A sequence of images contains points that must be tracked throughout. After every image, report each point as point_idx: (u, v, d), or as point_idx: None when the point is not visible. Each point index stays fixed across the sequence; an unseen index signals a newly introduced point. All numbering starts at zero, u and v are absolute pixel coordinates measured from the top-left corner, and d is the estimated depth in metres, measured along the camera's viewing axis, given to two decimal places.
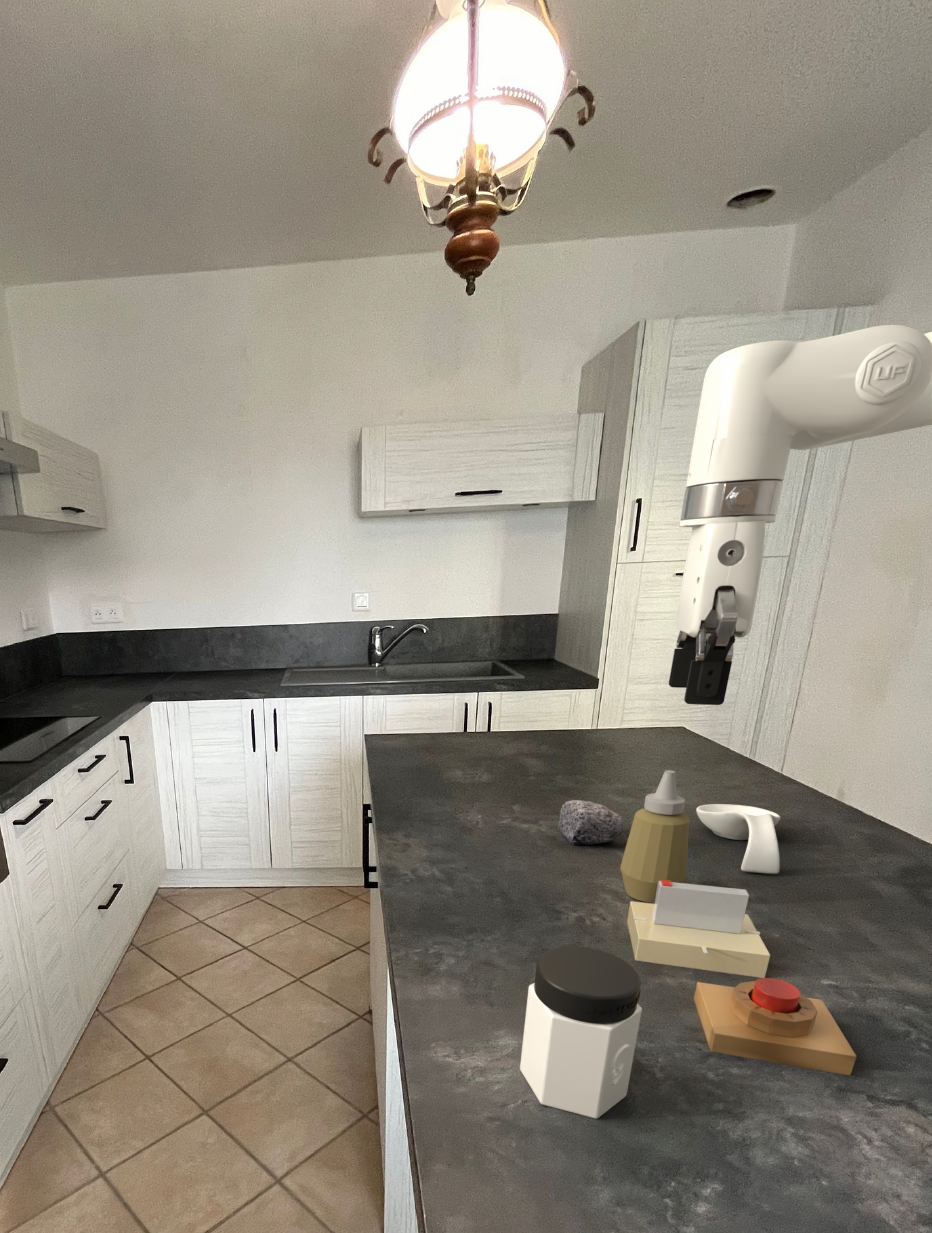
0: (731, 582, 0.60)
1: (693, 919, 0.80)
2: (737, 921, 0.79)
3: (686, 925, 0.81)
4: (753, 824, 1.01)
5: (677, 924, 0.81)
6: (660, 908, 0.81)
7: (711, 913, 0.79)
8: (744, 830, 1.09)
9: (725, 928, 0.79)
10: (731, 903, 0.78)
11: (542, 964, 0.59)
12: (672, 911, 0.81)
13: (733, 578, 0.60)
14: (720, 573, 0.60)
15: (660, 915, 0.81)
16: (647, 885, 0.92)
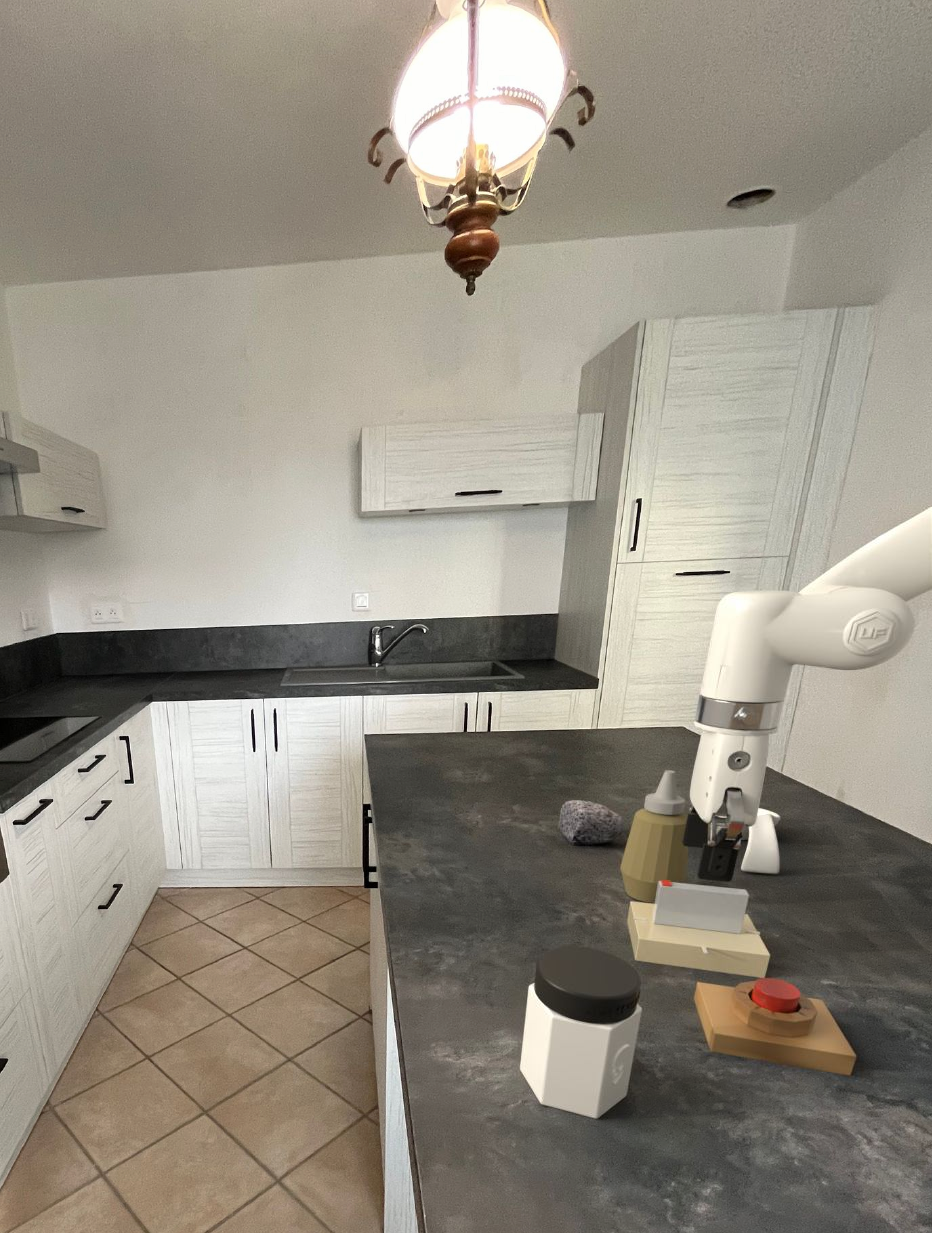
0: (739, 785, 0.70)
1: (693, 919, 0.80)
2: (737, 921, 0.79)
3: (686, 925, 0.81)
4: None
5: (677, 924, 0.81)
6: (660, 908, 0.81)
7: (711, 913, 0.79)
8: (744, 830, 1.09)
9: (725, 928, 0.79)
10: (731, 903, 0.78)
11: (542, 964, 0.59)
12: (672, 911, 0.81)
13: (741, 782, 0.70)
14: (729, 776, 0.70)
15: (660, 915, 0.81)
16: (647, 885, 0.92)
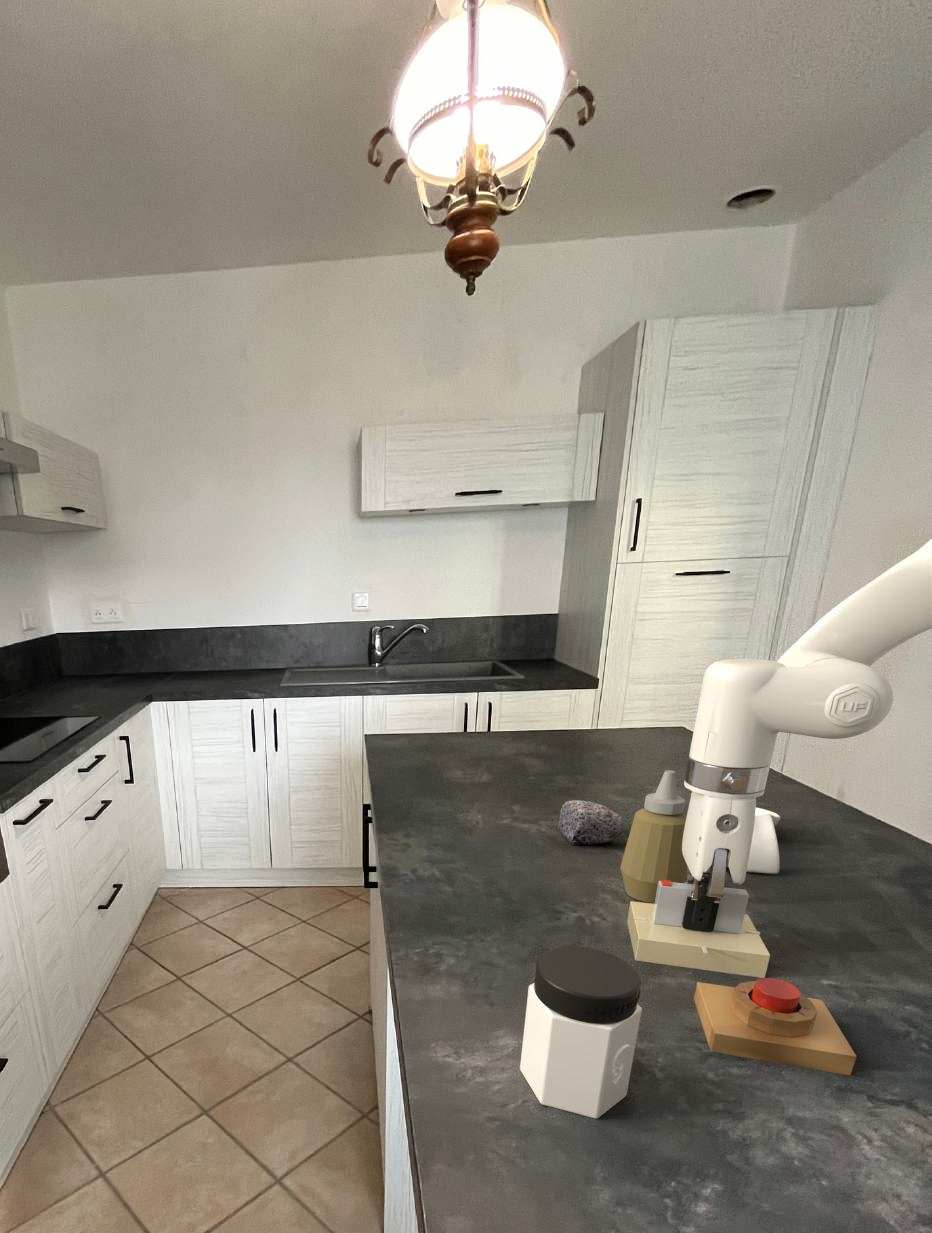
0: (728, 846, 0.72)
1: None
2: (737, 921, 0.79)
3: None
4: None
5: (677, 924, 0.81)
6: (660, 908, 0.81)
7: None
8: None
9: (725, 928, 0.79)
10: (731, 903, 0.78)
11: (542, 964, 0.59)
12: (672, 911, 0.81)
13: (729, 843, 0.72)
14: (718, 838, 0.72)
15: (660, 915, 0.81)
16: (647, 885, 0.92)
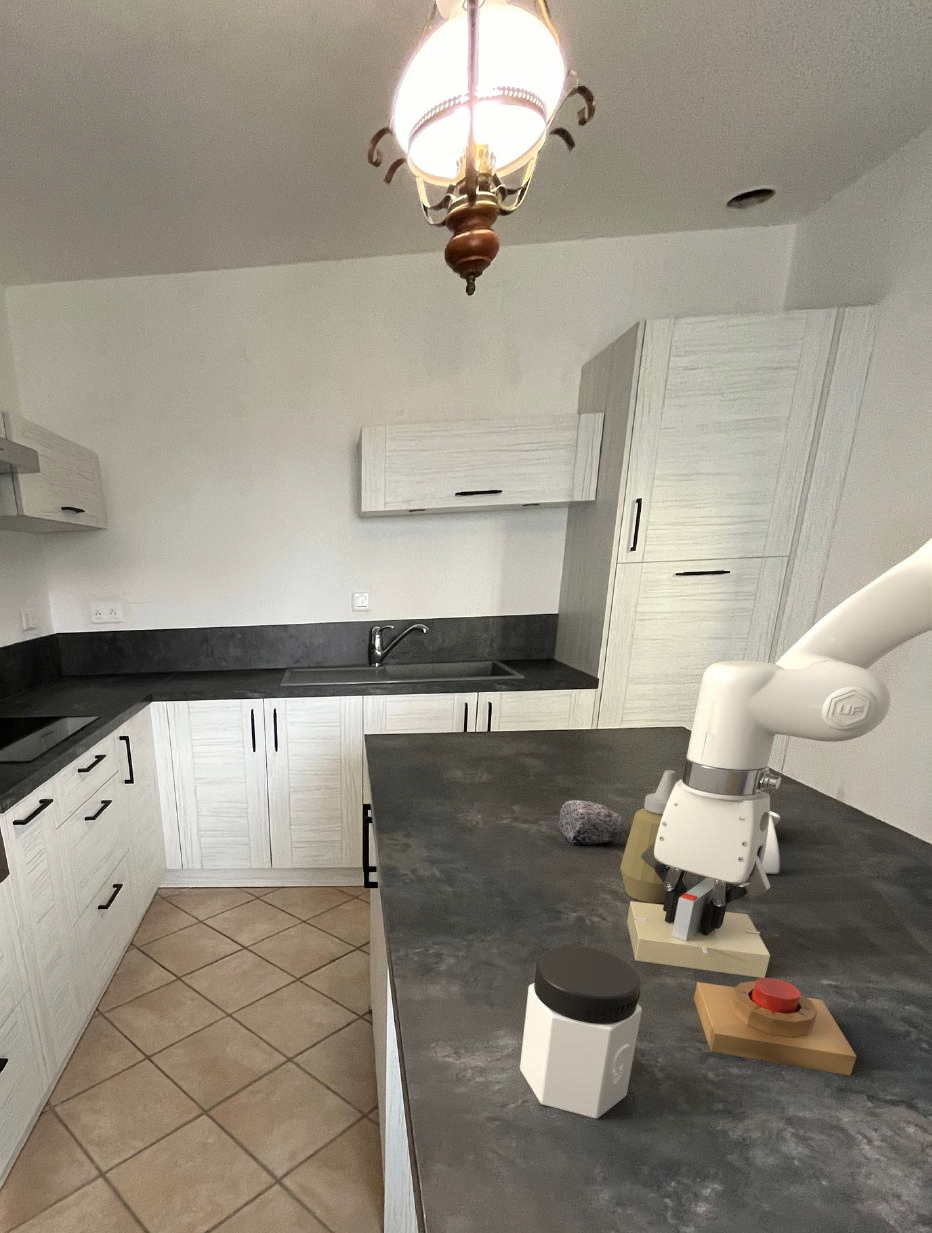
0: (762, 842, 0.74)
1: (702, 921, 0.80)
2: None
3: (698, 928, 0.80)
4: None
5: (695, 931, 0.79)
6: (691, 923, 0.78)
7: None
8: None
9: None
10: None
11: (542, 964, 0.59)
12: (695, 921, 0.78)
13: (763, 839, 0.74)
14: (760, 837, 0.73)
15: (690, 930, 0.78)
16: (647, 885, 0.92)
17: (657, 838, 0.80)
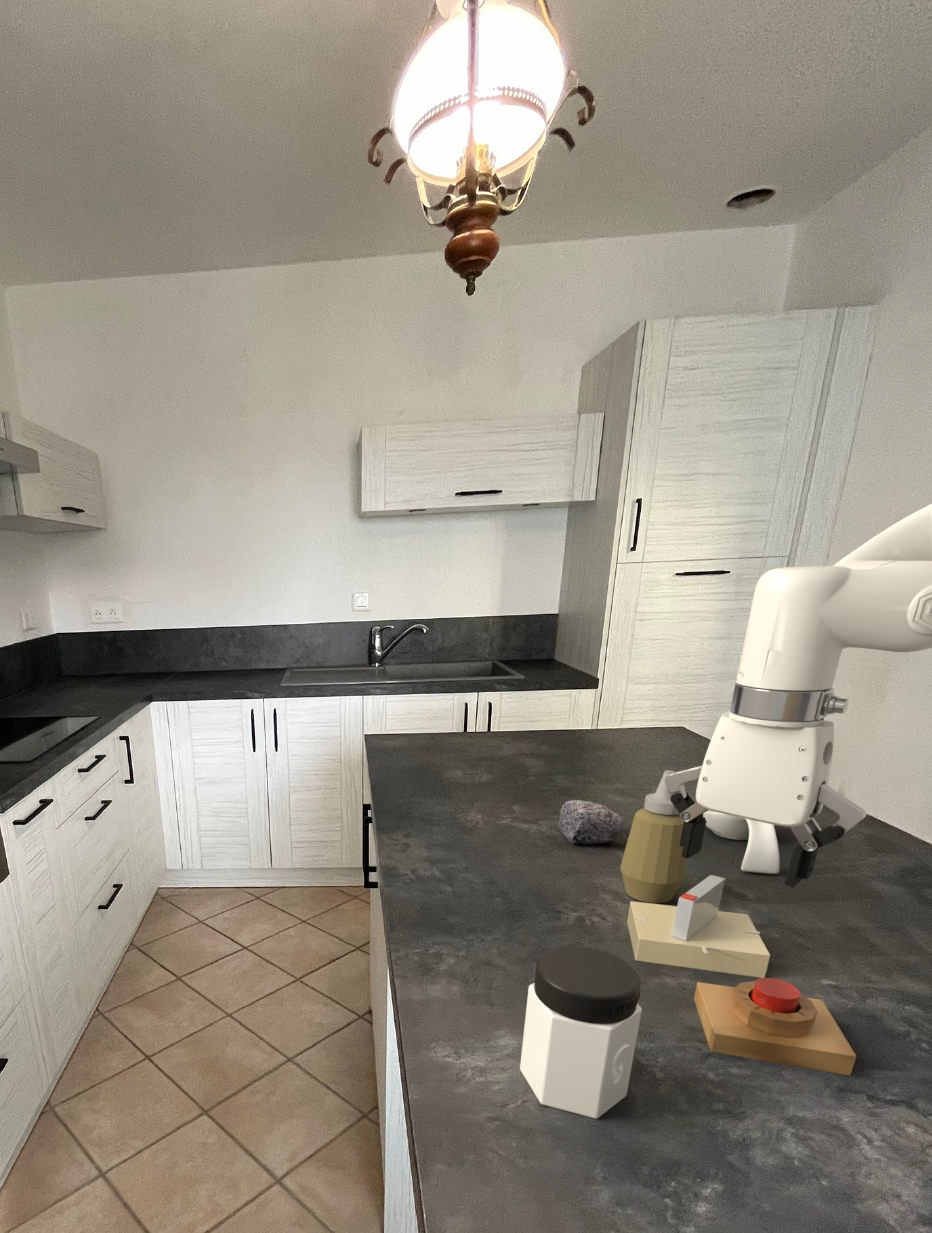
0: (825, 777, 0.64)
1: (702, 921, 0.80)
2: (717, 905, 0.82)
3: (698, 928, 0.80)
4: (753, 824, 1.01)
5: (695, 931, 0.79)
6: (691, 923, 0.78)
7: (709, 908, 0.81)
8: (744, 830, 1.09)
9: (712, 915, 0.82)
10: (718, 892, 0.81)
11: (542, 964, 0.59)
12: (695, 921, 0.78)
13: (826, 774, 0.64)
14: (823, 771, 0.63)
15: (690, 930, 0.78)
16: (647, 885, 0.92)
17: (700, 779, 0.70)
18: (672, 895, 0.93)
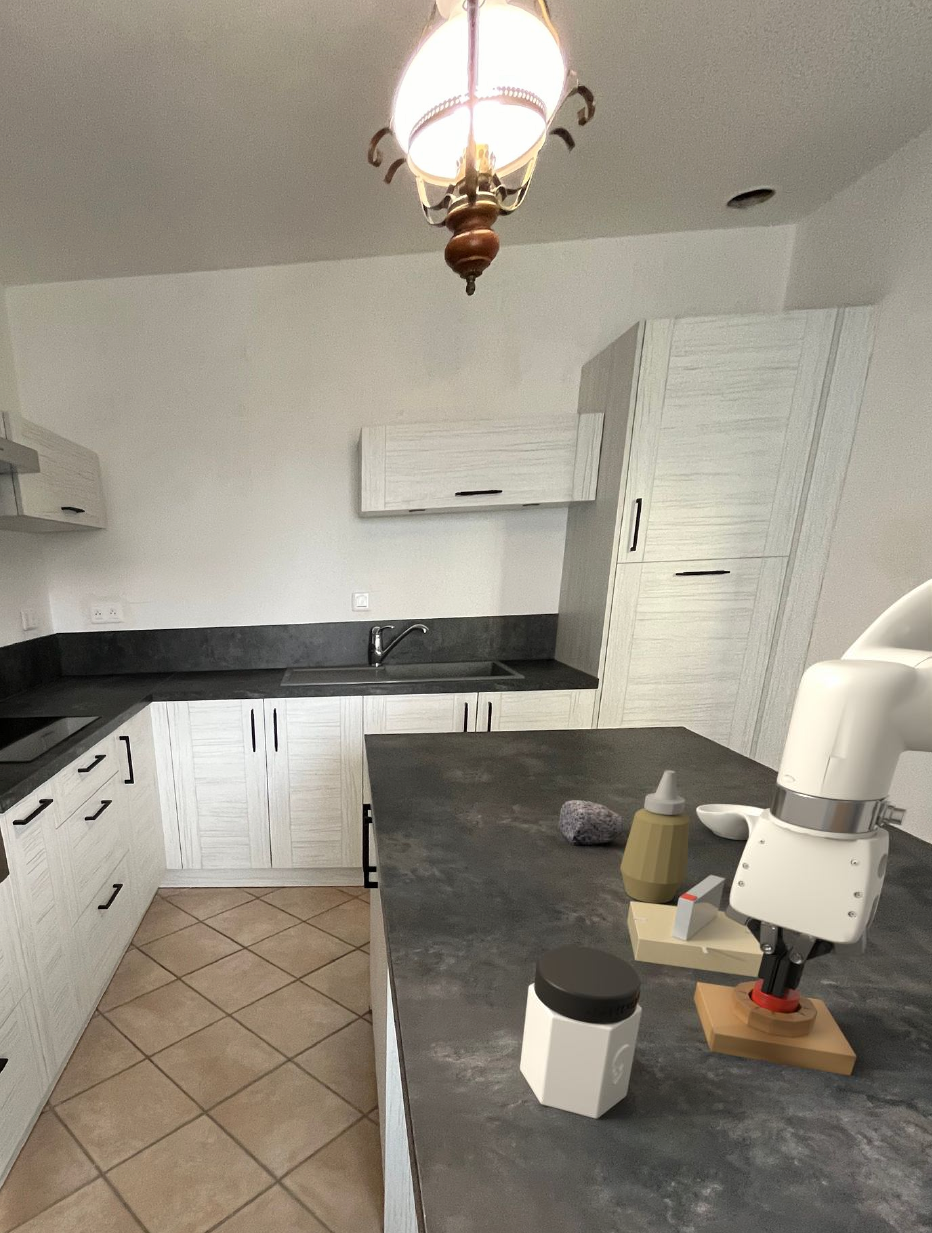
0: (878, 891, 0.57)
1: (702, 921, 0.80)
2: (717, 905, 0.82)
3: (698, 928, 0.80)
4: (753, 824, 1.01)
5: (695, 931, 0.79)
6: (691, 923, 0.78)
7: (709, 908, 0.81)
8: (744, 830, 1.09)
9: (712, 915, 0.82)
10: (718, 892, 0.81)
11: (542, 964, 0.59)
12: (695, 921, 0.78)
13: (880, 887, 0.57)
14: (877, 886, 0.57)
15: (690, 930, 0.78)
16: (647, 885, 0.92)
17: (735, 883, 0.64)
18: (672, 895, 0.93)
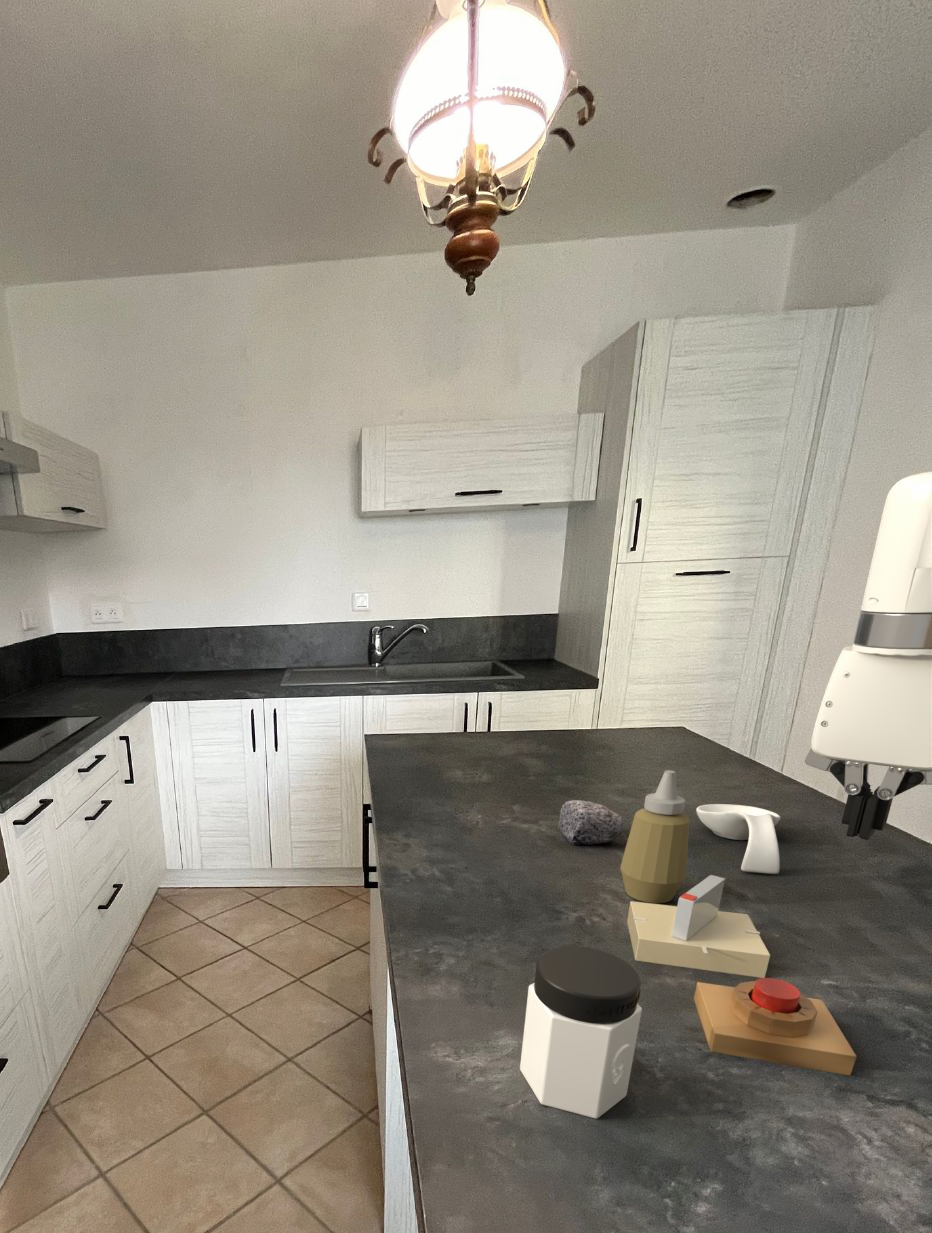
0: None
1: (702, 921, 0.80)
2: (717, 905, 0.82)
3: (698, 928, 0.80)
4: (753, 824, 1.01)
5: (695, 931, 0.79)
6: (691, 923, 0.78)
7: (709, 908, 0.81)
8: (744, 830, 1.09)
9: (712, 915, 0.82)
10: (718, 892, 0.81)
11: (542, 964, 0.59)
12: (695, 921, 0.78)
13: None
14: None
15: (690, 930, 0.78)
16: (647, 885, 0.92)
17: (817, 724, 0.63)
18: (672, 895, 0.93)
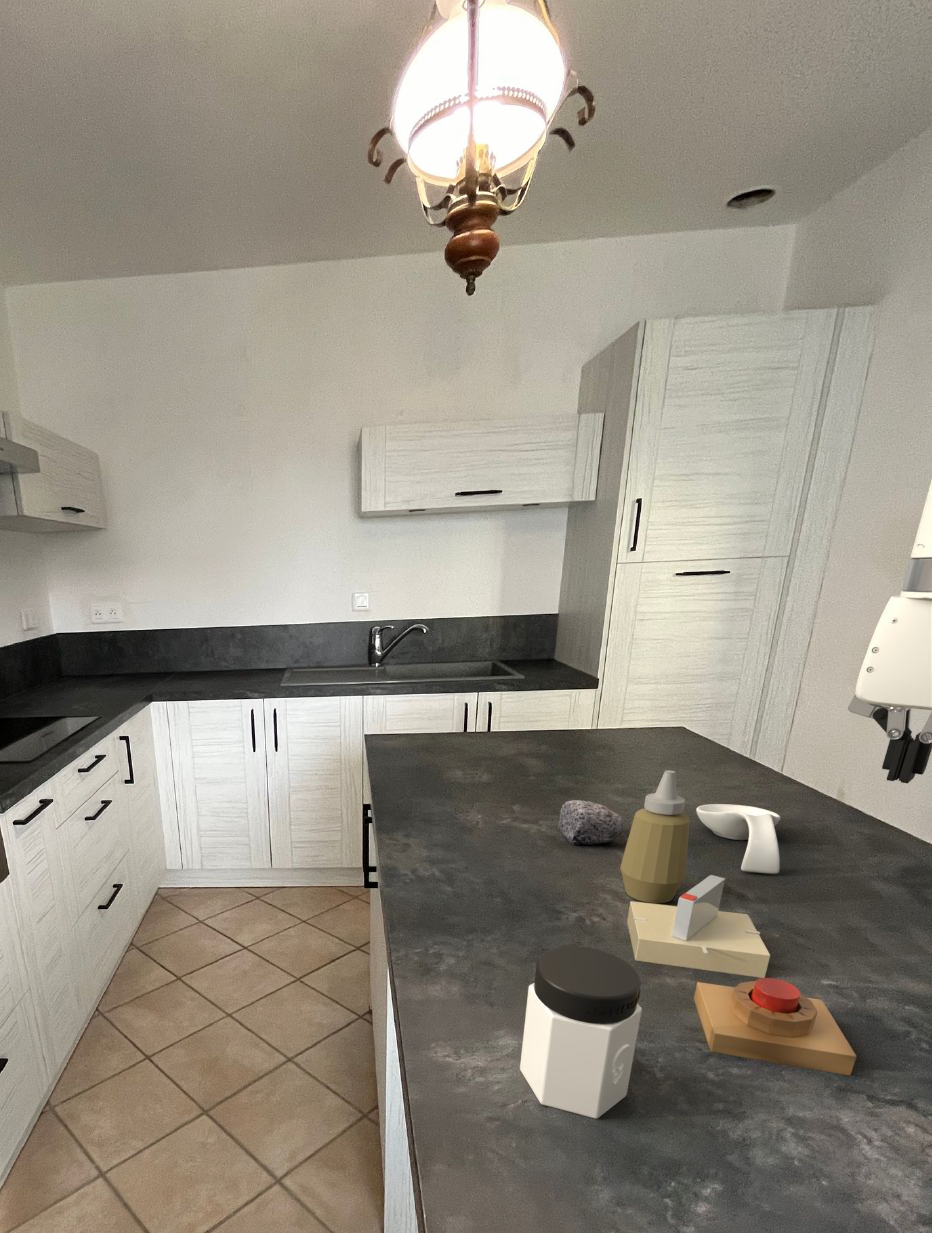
0: None
1: (702, 921, 0.80)
2: (717, 905, 0.82)
3: (698, 928, 0.80)
4: (753, 824, 1.01)
5: (695, 931, 0.79)
6: (691, 923, 0.78)
7: (709, 908, 0.81)
8: (744, 830, 1.09)
9: (712, 915, 0.82)
10: (718, 892, 0.81)
11: (542, 964, 0.59)
12: (695, 921, 0.78)
13: None
14: None
15: (690, 930, 0.78)
16: (647, 885, 0.92)
17: (862, 670, 0.65)
18: (672, 895, 0.93)
